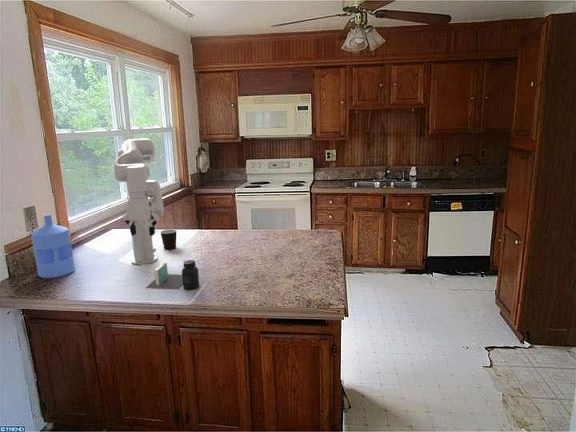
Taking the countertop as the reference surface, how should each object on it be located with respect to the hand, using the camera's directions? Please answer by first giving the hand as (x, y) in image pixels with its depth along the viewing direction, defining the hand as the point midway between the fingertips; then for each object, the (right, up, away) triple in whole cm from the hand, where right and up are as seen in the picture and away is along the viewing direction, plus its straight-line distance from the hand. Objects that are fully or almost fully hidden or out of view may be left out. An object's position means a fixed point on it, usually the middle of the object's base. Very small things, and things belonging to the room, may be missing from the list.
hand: (143, 234), depth 172 cm
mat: (+10, -21, +4) cm, 24 cm away
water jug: (-48, -19, +19) cm, 55 cm away
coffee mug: (-3, -10, +53) cm, 54 cm away
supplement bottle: (+22, -23, -2) cm, 32 cm away
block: (+7, -21, +4) cm, 22 cm away
